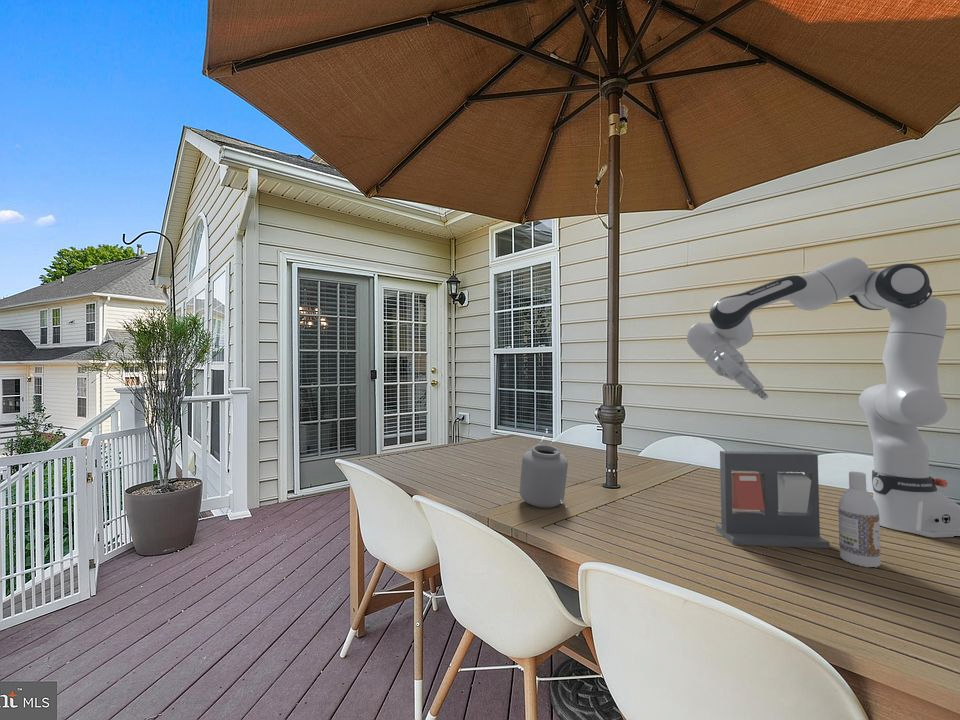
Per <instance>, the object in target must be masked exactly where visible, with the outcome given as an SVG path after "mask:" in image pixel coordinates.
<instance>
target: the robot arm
mask: <svg viewBox="0 0 960 720" xmlns="http://www.w3.org/2000/svg"><path fill="white" fill-rule="evenodd" d="M932 294H933V289H932V287H931V283H930V277H929V274H928V273H927V271H926V269H924V268H923V267H922V266H919V265H917V264H915V263H906V262H905V263H897V264H896V263H895V264H893V265H890V266H887V267H884V268H881V269H879V270H874V269H871V267H869V266H868V264H867V263H866V262H865V261H863V260H862V259H860V258H858V257H854V256H851V257H845V258H841V259H838V260H835V261H832V262H830V263H827V264H825V265H822V266H820V267H818V268H816V269H813V270H811V271H810V272H806V273H804V274H802V275H801V274H800V275H788V276H784V277H781V278H777V279H775V280H772V281H770V282H767V283H765V284H763V285H760V286H757V287H754V288H752V289H749V290H746V291H744V292H741V293H738V294H733V295H728V296H724V297H722V298H719V299H718V300H717V301H716V302H714V304H712V305H711V307H710V310H709V318H710V320H711V322H696V323H694V324H693V325H692V326H691V327H690V328H689V330H688V331H687V334H686V341H687V344H688V345H689V346H690V348H691V350H692V351H694V352H695V354H696V355H697V356H698V357H700V358H701V359H703V360H704V361H705V363H706V364H707V365H708V366H709V368H710V369H712V371H713V372H714V373H716V374H717V375H718V376H721V377H724V378H727V379H729V380H730V381H734V382H735V383H737V384H738V385H740V386H741V387H742V388H744V389H745V390H746V391H748V392H749V393H751V394H752V395H754V396H755V395H757V396H758V397H759V398H761V399H762V400H763V401H764V400H767V399H768V398H769V395H768V394H767V393H766V392H765V391H764V390H763V389H765V388H764V385H763V383H762V382H761V381H760V380H759V379H758V378H757V377H756V376H755V374H754V373H753V372H752V371H751V370H750V369H749V368H750V366H749V364H747V362H746V361H745V359H744V355H743V354H742V353H741V352H740V351H739V350H738V349H739V348H741V347H743V346H745V345H747V344H748V343H749V342H750V341H752V339H753V337H754V328H753V324H752V321H751V317H750V316H751V314H752V313H753V312H754V311H756V310H758V309H761V308H764V307H767V306H769V305H772V304H774V303H777V302H781V301H788V302H790V303H791V304H792V305H794V307H796V308H798V309H799V310H803V311H804V310H805V311H808V312H809V311H812V312H813V311H817V310H820V309H823V308H826V307H828V306H830V305H832V304H835V303H836V302H838V301H840V300H843V299H845V298H847V297H848V298H849V299H851V300H853V301H854V302H855V304H856V305H858V306H859V307H861V308H863V309H865V310H869V311H881V310H885V309H887V311H888V312H889V315H890V325H889V328H888V332H887V336H886V339H885V340H886V341H885V344H884V348H883V354H882V357H881V362H882V363H883V366H884V369H885V377H886V379H885V380H886V383H879V384H875V385H872V386H869V387H867V388H865V389H863V391H862V392H861V393H860V394H859V397H858V404H859V407H860V408H861V410H862V412H863V413H864V416H865V420H866V422H867V426H868V430H869V433H870V436H871V437H870V438H871V442H872V455H873V456H872V457H873V469H872V471H871V484H872V490H873V496H872V498H873V499H874V501H875V502H876V504H877V506H878V510H879V520H880V526H881V527H884V528H888V529H891V530H896V531H899V532H903V533H904V532H906V533H911V534H914V535H915V534H916V535H918V536H919V535H920V536H922V537H923V536H924V537H927V538H934V539H935V538H955V537H954V536H960V504H958V503H957V502H955V501H954V500H952V499H951V498H949V497H948V496H946V495H944V494H943V493H941V492H940V491H938V488H937V487H941V488H947V487H948V486H949V485H948V484H949V483H948V481H947V480H945V479H942V478H938V477H937V478H933V477H932V476H930V462H929V460H930V458H929V457H930V456H929V447H928V445H927V444H926V443H925V441H924V440H923V438H922V436H921V434H920V431H919V428H918V427H924V426H930V425H934V424H937V423H938V422H940V421H941V420H942V419H944V417H945V416H946V414H947V410H948V407H947V406H948V405H947V403H946V400H945V398H944V397H943V396H942V394H941V392H940V386H939V378H938V376H939V375H938V373H939V372H938V367H939V360H940V356H941V352H942V347H943V343H944V339H945V338H944V337H945V334H946V328H947V306H946V303H945V302H944V301H942V300H941V299H939V298H937V297H934V296H932Z"/></svg>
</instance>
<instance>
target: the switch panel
mask: <svg viewBox="0 0 960 720" xmlns="http://www.w3.org/2000/svg"><path fill="white" fill-rule="evenodd" d="M818 456H819V455H818V454H816V453H814V452H810V451H808V452H805V451H803V452H802V451H796V452H795V451H746V450H745V451H742V450H741V451H739V450H738V451H735V450H733V451H731V450H728V451H727V450H719V467H720V468H719V471H720V472H719V474H720V475H719V476H720V477H719V479H720V511H721V512H720V513H721V515H720V516H721V520H720V521H721V523H716V528H715V530H716V531H717V532H718V533H720V534H721V535H722V537H724V538H725V539H726V540H727V541H729V543H731V544H732V545H741V546H743V545H744V546H763V547H767V546H768V547H783V548H785V547H786V548H787V547H791V548H808V549H809V548H812V549H814V548H815V549H830V541H828V540H826V539H825V538H823V537H821V529H820V524H821V523H820V494H819V493H820V488H819V486H820V485H819V459H818V458H819V457H818ZM732 472H758V473H759V475H760V482H761V489H762V496H763V503H764V510H741V509H733V508H732V479H731V473H732ZM777 472H789V473H803V474H804V475H805V476H806V477H808V478H809V479H810V480H811V487H810V494H809V501H808V508H807V513H799V512H781V511H779V509H778V476H777Z"/></svg>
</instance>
